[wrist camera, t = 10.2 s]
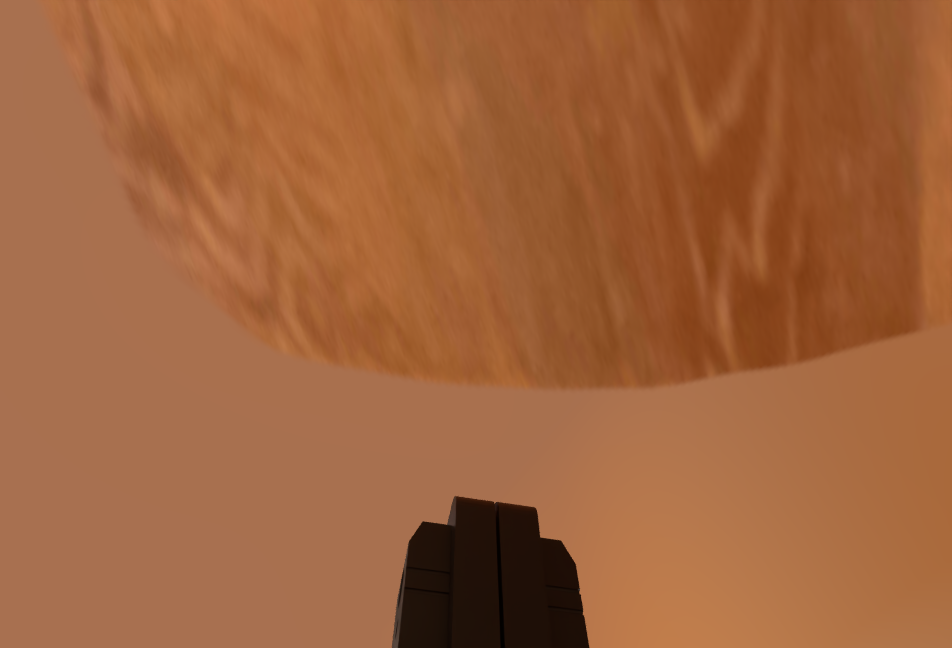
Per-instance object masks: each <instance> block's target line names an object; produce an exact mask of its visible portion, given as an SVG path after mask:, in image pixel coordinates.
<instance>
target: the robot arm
mask: <svg viewBox="0 0 952 648" xmlns="http://www.w3.org/2000/svg"><path fill="white" fill-rule="evenodd" d="M579 591H580V588H579V581H578V576H577V570H576V564H575V562H574V561H573V559H572V557H571V556H570V554H569V553H568V551H567V550H566V548H565V546H564V545H563V543H562V541H560V540H553V539H546V538H540V532H539V523H538V514H537V510H536V508H534V507H528V506H521V505H514V504H508V503H500V502H496V503H495V504H494V502H492V501H485V500H477V499H471V498H464V497H458V496H455V497H454V499H453V502H452V506H451V511H450V515H449V519H448V524H447V525H444V524H438V523H431V522H422V523H421V525H420V526H419V528H418V529H417V531H416V532H415V534H414V535H413V536H412V538H411V539H410V541H409V544H408V549H407V554H406V559H405V564H404V569H403V574H402V579H401V584H400V589H399V594H398V599H397V607H396V616H395V625H394V634H393V642H392V648H589V643H588V637H587V631H586V625H585V618H584V615H583V606H582V601H581V595H580V594H579Z"/></svg>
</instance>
